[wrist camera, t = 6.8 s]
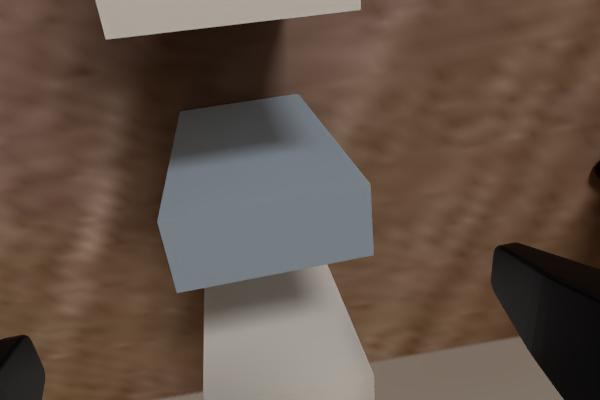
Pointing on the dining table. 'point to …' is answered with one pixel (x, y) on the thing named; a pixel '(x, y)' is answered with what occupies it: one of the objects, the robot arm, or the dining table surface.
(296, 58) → the dining table surface
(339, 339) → the domino
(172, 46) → the dining table surface
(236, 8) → the domino
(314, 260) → the blue domino
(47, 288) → the dining table surface
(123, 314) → the dining table surface
